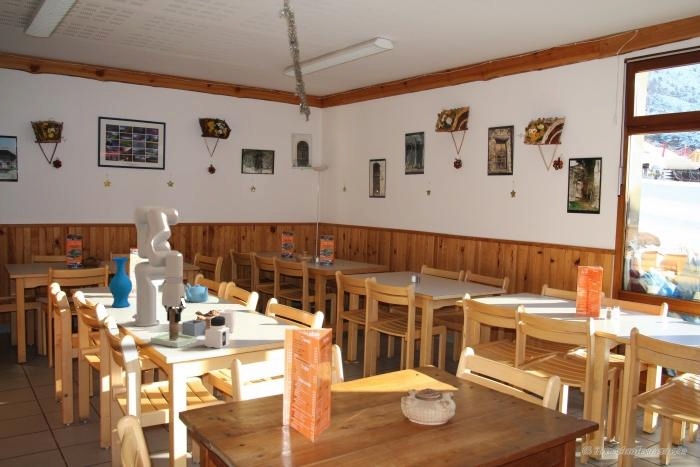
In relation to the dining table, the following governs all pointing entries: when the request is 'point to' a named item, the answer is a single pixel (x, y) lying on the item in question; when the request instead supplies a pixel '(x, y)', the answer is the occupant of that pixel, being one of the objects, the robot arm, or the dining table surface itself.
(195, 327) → the blue-grey block
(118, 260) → the vase
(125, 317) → the dining table surface
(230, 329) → the white cup
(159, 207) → the robot arm
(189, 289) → the teapot
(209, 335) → the container
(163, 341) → the sage tray
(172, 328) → the walnut dowel
